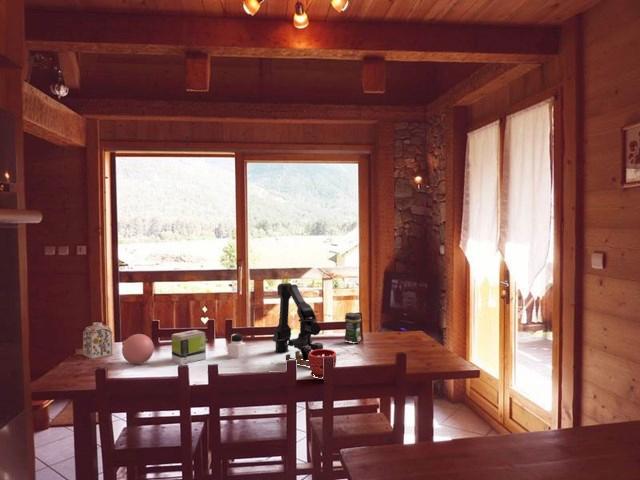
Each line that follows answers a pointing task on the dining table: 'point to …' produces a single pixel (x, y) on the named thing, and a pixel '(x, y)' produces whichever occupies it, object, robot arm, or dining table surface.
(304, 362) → the chute
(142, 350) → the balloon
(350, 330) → the coffee jar
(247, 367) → the dining table surface
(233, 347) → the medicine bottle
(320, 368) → the plant pot
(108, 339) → the decorative jar
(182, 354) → the tea box
